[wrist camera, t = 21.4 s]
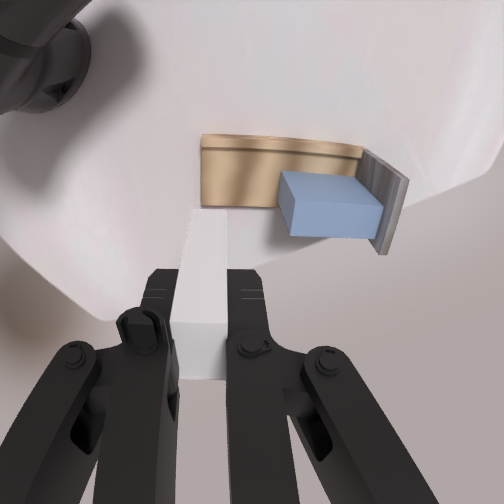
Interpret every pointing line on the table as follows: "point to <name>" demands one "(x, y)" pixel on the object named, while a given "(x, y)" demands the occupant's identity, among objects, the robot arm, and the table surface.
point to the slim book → (328, 206)
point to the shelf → (300, 160)
